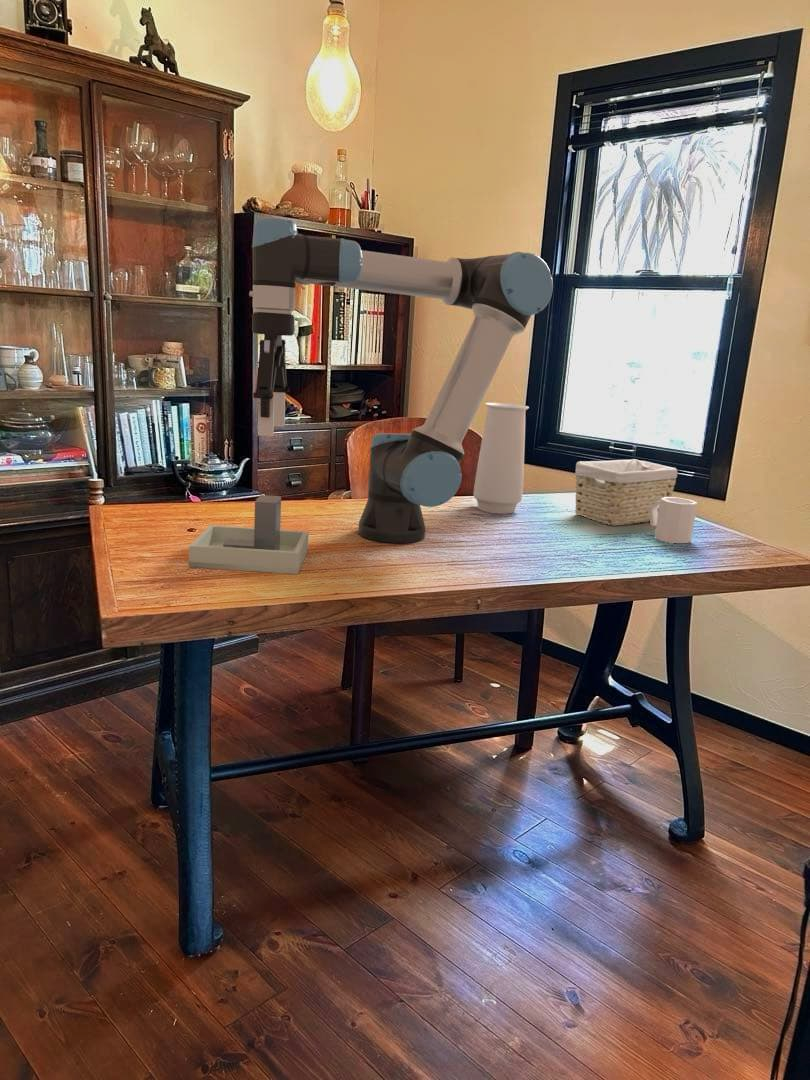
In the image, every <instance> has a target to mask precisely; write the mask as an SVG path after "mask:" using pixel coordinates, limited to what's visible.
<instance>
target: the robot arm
mask: <svg viewBox="0 0 810 1080" xmlns="http://www.w3.org/2000/svg"><path fill="white" fill-rule="evenodd" d="M297 229H298V228H297V224H296V223H295V221H294V220H291V219H286V218H279V217H278V218H277V217H261V218H258V219H256V220H255V222H254V223H253V232H252V233H253V234H252V244H251V248H252V290H250V291H249V293H248V295H249V297H252V308H253V310H255V312H254V311H253V313H251V318H252V319H251V331H252V333H253V334H255V335H256V334H257V335H264V336H263V337H264V338H263V339H260V340H259V343H258V344H259V354H258V355H259V357H258V365H257V366H258V367H257V377H256V378H257V379H256V387H255V388H256V389H255V392H253V399H257V436H259V437H260V436H263V437H274V432H275V431H274V429H275V428H274V427H279V428H280V427H282V428H285V422H286V421H285V420H286V393H290V386H288V381H287V365H286V364H287V362H286V343H287V342H286V339H283V337H282V336H289V337H291V336H293V335H295V318H296V316H294V314H292V312H295V310H296V289H297V288H296V283H297V284H299V285H304V286H305V285H306V286H307V285H316V286H326V287H338V288H343V289H344V288H345V289H354V290H361V291H362V290H363V291H372V292H379V293H387V294H396V295H405V296H412V297H422V298H428V299H429V298H430V299H438V300H441V301H442V302H443V304H444V305H447V306H454V307H461V308H464V309H465V308H466V309H469V310H472V312H473V315H474V319H473V321H472V322H471V324H470V327H469V329H468V331H467V334H466V336H465V338H464V339H463V341H462V344H461V346H460V348H459V350H458V352H457V354H456V356H455V359H454V360H453V363H452V365H451V367H450V369H449V371H448V373H447V376H446V377H445V380H444V382H443V384H442V386H441V388H440V391H438V394H437V396H436V398H435V400H434V403H433V405H432V407H431V409H430V411H429V413H428V415H427V417H426V419H425V422H424V423H423V425H420V426H417V427H415V428H413V429H412V431H411V433H392V432H390V433H386V432H385V433H382V432H381V433H379V432H378V433H375V434H374V435H373V436H372V438H371V444H370V448H369V450H370V453H369V455H370V456H369V457H370V458H369V473H368V474H369V475H368V477H369V478H368V491H367V492H368V493H367V494H368V495H367V501H366V504H365V505H364V509H363V511H362V514H361V517H360V519H359V521H358V529H357V530H358V532H357V533H358V534H359V536H361V537H362V538H365V539H368V540H371V541H375V542H381V543H389V544H390V543H392V544H403V543H404V544H409V543H415V542H419V541H420V542H421V541H422V540H424V539H425V537H426V525H425V521H424V516H423V512H422V511H423V510H422V507H427V508H432V507H433V508H434V507H438V506H441V505H444V504H446V503H447V502H449V501H450V500H451V499H452V498H453V497H454V496H455V495H456V494H457V492H458V491H459V488H460V486H461V483H462V477H463V474H462V471H461V465H460V464H461V462H462V460H463V458H464V456H465V451H464V448H463V444H462V443H463V440H464V438H465V436H466V434H467V433H468V431H469V428H470V426H471V424H472V422H473V420H474V418H475V416H476V414H477V412H478V409H479V408H480V406H481V403H482V401H483V399H484V397H485V395H486V393H487V391H488V389H489V386H490V384H491V382H492V380H493V378H494V376H495V375H496V372H497V370H498V368H499V366H500V364H501V362H502V360H503V358H504V355H505V353H506V352H507V349H508V347H509V345H510V343H511V341H512V339H513V338H514V336H516V335H518V334H521V333H524V331H525V329H526V327H527V325H528V323H529V321H530V319H531V317H532V316H533V315H537V314H538V313H540V312H542V311H543V310H544V309H545V308H546V307H547V306H548V304H549V303H550V300H551V298H552V294H553V290H554V289H553V288H554V282H553V277H552V274H551V270H550V268H549V265H548V264H547V263H546V262H545V261H544V259H542V258H541V257H540V256H538V255H537V254H534V253H531V252H524V251H523V252H522V251H515V252H512V253H509V254H496V255H488V256H482V257H474V258H473V257H472V258H460V257H459V258H458V257H450V258H448V259H447V260H446V261H443V260H436V259H429V258H428V259H427V258H421V257H415V256H407V255H398V254H392V253H385V252H379V251H378V252H377V251H369V250H364V249H363V250H362V249H361V248H362V247H361V246H360V243H358V242H357V241H355V240H351V239H345V238H342V237H341V238H338V237H337V238H336V237H323V236H313V235H306V234H302V233H298V230H297ZM421 506H422V507H421Z"/></svg>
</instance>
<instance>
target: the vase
mask: <svg viewBox="0 0 810 1080" xmlns="http://www.w3.org/2000/svg"><path fill="white" fill-rule="evenodd" d="M484 404H485V406H486V407H487V411H486V415H485V421H484V426H483V430H482V431H483V432H482V438H481V443H480V448H479V449H480V450H479V455H478V461H477V466H476V473H475V479H474V480H475V481H474V486H473V498H474V499H476V502H477V508H478V510H480V511H482V512H485V513H488V514H490V513H491V514H499V515H505V514H506V515H507V514H513V513H514V512H515V511H516V507H517V505H518V504H519V503H521V501H522V500H523V491H524V490H523V489H524V471H525V470H524V469H525V450H526V449H525V448H526V447H525V444H526V442H525V441H526V411H527V410H528V409H529V408H530V407H529V406H528V405H524V404H515V403H509V402H508V403H506V402H485V403H484Z"/></svg>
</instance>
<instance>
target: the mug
mask: <svg viewBox="0 0 810 1080" xmlns="http://www.w3.org/2000/svg"><path fill="white" fill-rule="evenodd" d="M697 507H698V502H697V501H694V500H692V499H687V498H683V497H677V496H674V497H673V496H672V497H664V498H661V499H660V500H658V501H657V502H655V503H654V504H653V505H652V506H651V507H650V508H649V510H650V522H649V523H650V526H652V527H655V532H654V536H653V537H656V538H657V539H656V538H655V539H656V540H658V539H659V540H658V541H660V540H661V541H660V542H662V541H665V542H664V543H667V542H670V543H669V544H673V543H688V542H690V541H691V542H692V539H693V538H692V537H693V531H694V524H695V520H696V513H697V509H698V508H697ZM658 508H659V511H658V512H657V509H658ZM691 542H690V543H691ZM688 544H689V543H688Z"/></svg>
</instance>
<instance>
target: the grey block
mask: <svg viewBox="0 0 810 1080" xmlns="http://www.w3.org/2000/svg"><path fill="white" fill-rule="evenodd" d="M281 508H282V495H281V496H280V495H269V494H268V495H267V494H266V495H265V494H260V495H259V496H258V497H257V498H256V500H255V501H254V522H253V523H254V524H253V525H254V527H253V528H254V541H251V540H236V539H228V540H227V541H226V542H225V543H224V544H223V547H234V548H249V549H264V550H279V551H280V530H281V521H282V520H281V519H282V517H281V516H282V509H281Z"/></svg>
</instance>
